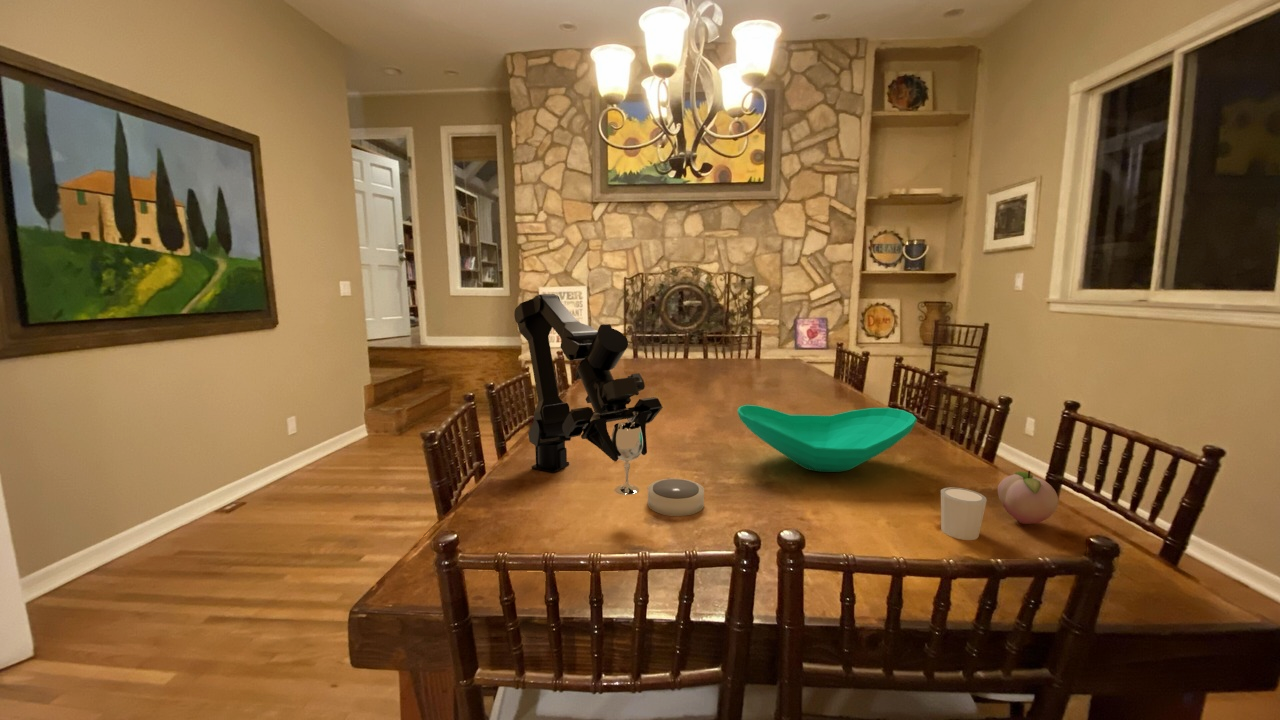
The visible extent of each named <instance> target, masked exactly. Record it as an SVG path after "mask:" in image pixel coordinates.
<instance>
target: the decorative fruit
mask: <svg viewBox="0 0 1280 720" xmlns="http://www.w3.org/2000/svg"><path fill="white" fill-rule="evenodd" d="M997 495H998V498H999V501H1000V503H1001V506H1003V508H1004V510H1005V511H1006V513H1008V514H1009V515H1010V516H1012V518H1013V519H1015V520H1016V521H1018V522H1019V523H1020V524H1023V525H1030V524H1032V525H1033V524H1038V523H1042V522H1044V521H1047V520H1048V519H1050V518H1051V517H1052V515H1053V514H1054V513H1055V512H1056V510H1057V509H1058V505H1059V497H1058V493H1057V492H1056V490H1055V489H1054V487H1053V486H1052V485H1051V484H1050V483H1048V482H1047V481H1046V480H1044V479H1042V478H1040V477H1037V476H1034V475H1033V474H1031V471H1030V470H1028V471H1027V472H1024V471H1016V472H1015V473H1014V474H1010V475H1007V476H1005V477H1004V478H1003V479H1002V480H1000V483H998V486H997Z"/></svg>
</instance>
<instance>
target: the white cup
mask: <svg viewBox="0 0 1280 720" xmlns="http://www.w3.org/2000/svg"><path fill="white" fill-rule="evenodd" d="M986 505H987V497H986V496H984V494H981V493H980V492H978V491H975V490H971V489H967V488H962V487H950V486H949V487H944V488H942V489H940V526H941V528H940V529H941V532H942V533H944V534H945V535H947V536H949V537H951V538H954V539H958V540H963V541H975V540H977V539H978V538H980V537H979V536H980V531H981V528H982V522H983V518H984V514H985V510H986Z"/></svg>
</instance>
